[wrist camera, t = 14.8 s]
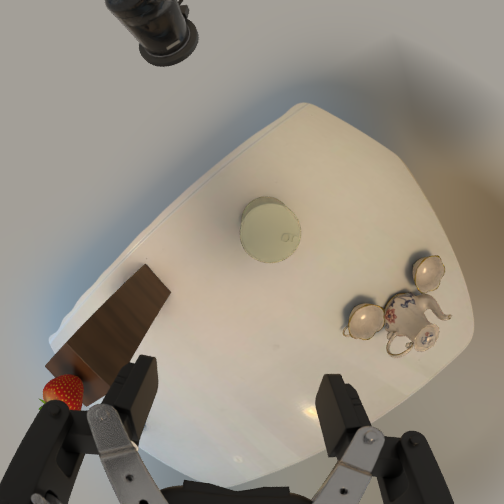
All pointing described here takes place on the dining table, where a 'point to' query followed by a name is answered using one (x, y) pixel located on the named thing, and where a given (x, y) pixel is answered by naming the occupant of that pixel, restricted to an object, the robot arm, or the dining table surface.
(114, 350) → the plinth
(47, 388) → the fruit
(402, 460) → the robot arm
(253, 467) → the dining table surface
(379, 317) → the chinaware
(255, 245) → the can
